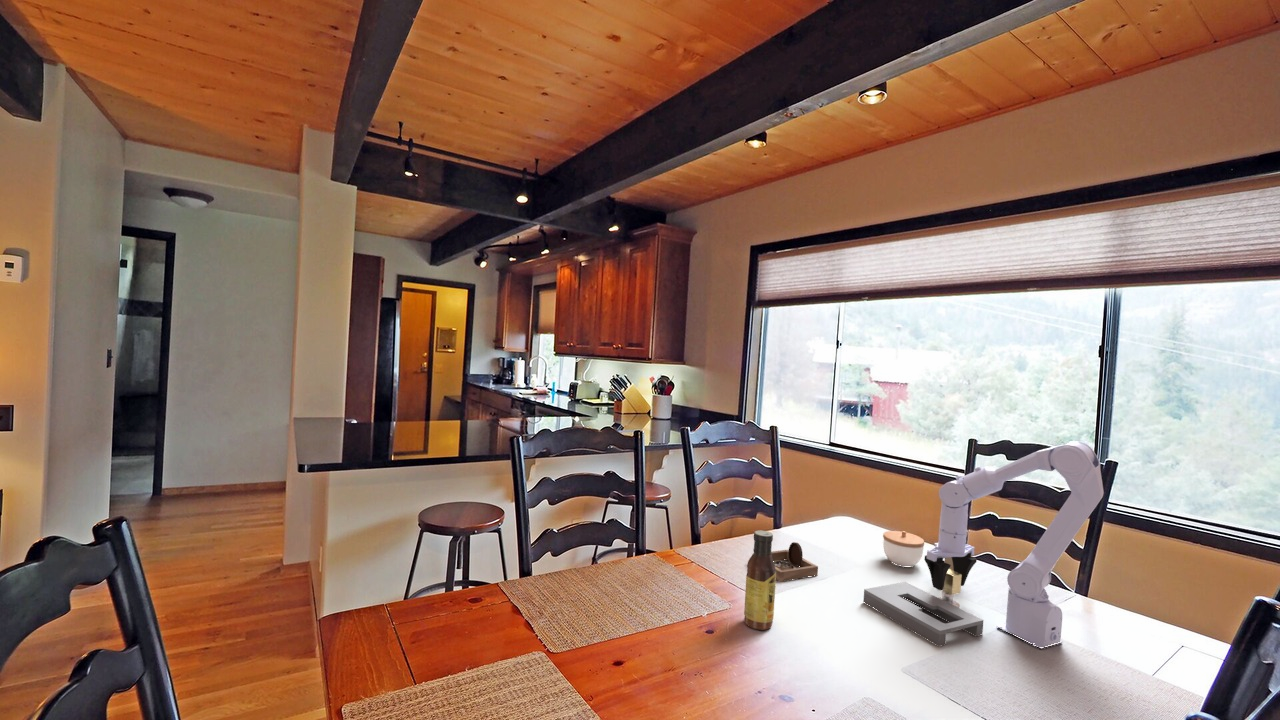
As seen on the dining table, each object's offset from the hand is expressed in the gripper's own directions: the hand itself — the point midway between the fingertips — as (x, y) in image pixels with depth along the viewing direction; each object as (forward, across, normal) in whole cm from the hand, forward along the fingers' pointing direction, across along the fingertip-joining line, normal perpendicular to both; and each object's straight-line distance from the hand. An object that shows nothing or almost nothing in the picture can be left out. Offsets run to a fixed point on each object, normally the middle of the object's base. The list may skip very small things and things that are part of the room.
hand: (948, 586), depth 133 cm
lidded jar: (+5, -12, -23) cm, 26 cm away
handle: (+5, -14, -9) cm, 17 cm away
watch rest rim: (+5, +25, -30) cm, 39 cm away
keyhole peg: (+5, 0, 0) cm, 5 cm away
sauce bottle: (+5, +50, -8) cm, 51 cm away
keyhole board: (+5, +12, +2) cm, 13 cm away
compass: (+5, +25, -29) cm, 39 cm away
